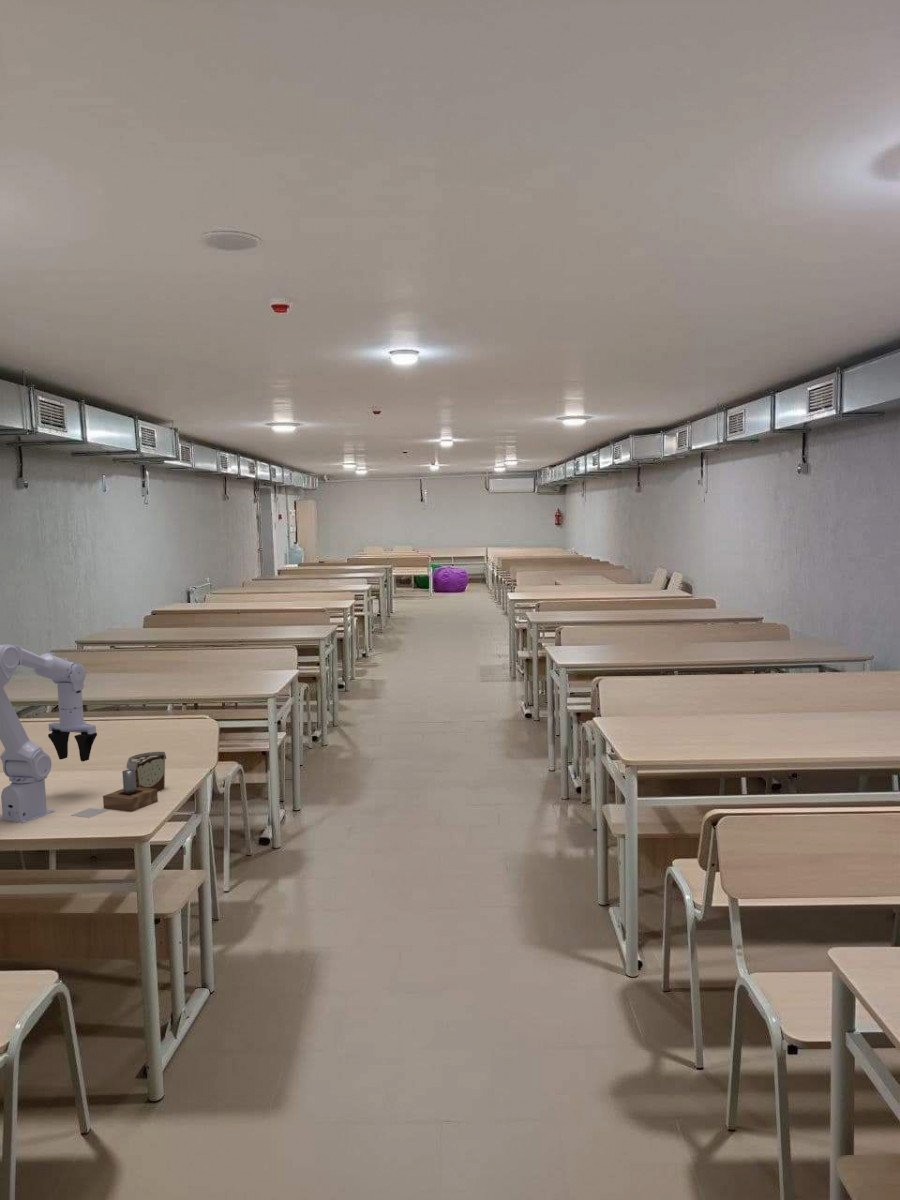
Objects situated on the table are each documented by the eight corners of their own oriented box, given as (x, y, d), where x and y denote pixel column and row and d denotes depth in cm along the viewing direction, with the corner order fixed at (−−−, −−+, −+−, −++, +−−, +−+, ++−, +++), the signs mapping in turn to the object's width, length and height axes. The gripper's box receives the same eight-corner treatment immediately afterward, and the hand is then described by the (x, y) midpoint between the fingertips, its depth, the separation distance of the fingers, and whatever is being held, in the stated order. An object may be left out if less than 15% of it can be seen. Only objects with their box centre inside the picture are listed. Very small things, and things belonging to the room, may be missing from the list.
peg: (131, 808, 219) (128, 772, 218) (121, 807, 220) (119, 771, 220) (140, 805, 222) (137, 769, 221) (131, 804, 223) (128, 768, 222)
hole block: (131, 813, 215) (131, 799, 215) (103, 809, 219) (102, 795, 219) (157, 802, 223) (157, 789, 223) (130, 799, 227) (129, 786, 227)
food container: (149, 786, 239) (147, 750, 238) (168, 788, 237) (166, 751, 236) (117, 799, 227) (115, 761, 227) (137, 801, 225) (135, 762, 225)
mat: (89, 819, 211) (89, 817, 211) (70, 816, 214) (70, 815, 214) (108, 811, 217) (108, 810, 217) (90, 809, 219) (89, 808, 219)
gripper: (103, 706, 230) (106, 757, 231) (62, 703, 236) (65, 754, 237) (82, 711, 224) (85, 764, 225) (40, 708, 230) (44, 760, 231)
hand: (74, 759), depth 230 cm, fingers open, 7 cm apart
